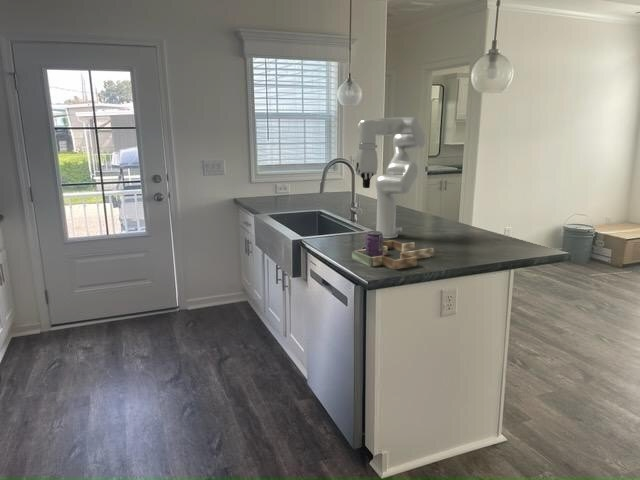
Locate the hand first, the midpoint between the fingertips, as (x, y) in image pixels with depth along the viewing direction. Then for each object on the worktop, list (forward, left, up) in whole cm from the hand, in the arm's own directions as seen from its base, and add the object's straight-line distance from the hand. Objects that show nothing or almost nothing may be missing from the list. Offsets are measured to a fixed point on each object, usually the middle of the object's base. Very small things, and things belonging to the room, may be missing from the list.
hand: (366, 187), depth 222 cm
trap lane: (+3, +26, -27) cm, 38 cm away
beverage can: (+14, +26, -27) cm, 40 cm away
